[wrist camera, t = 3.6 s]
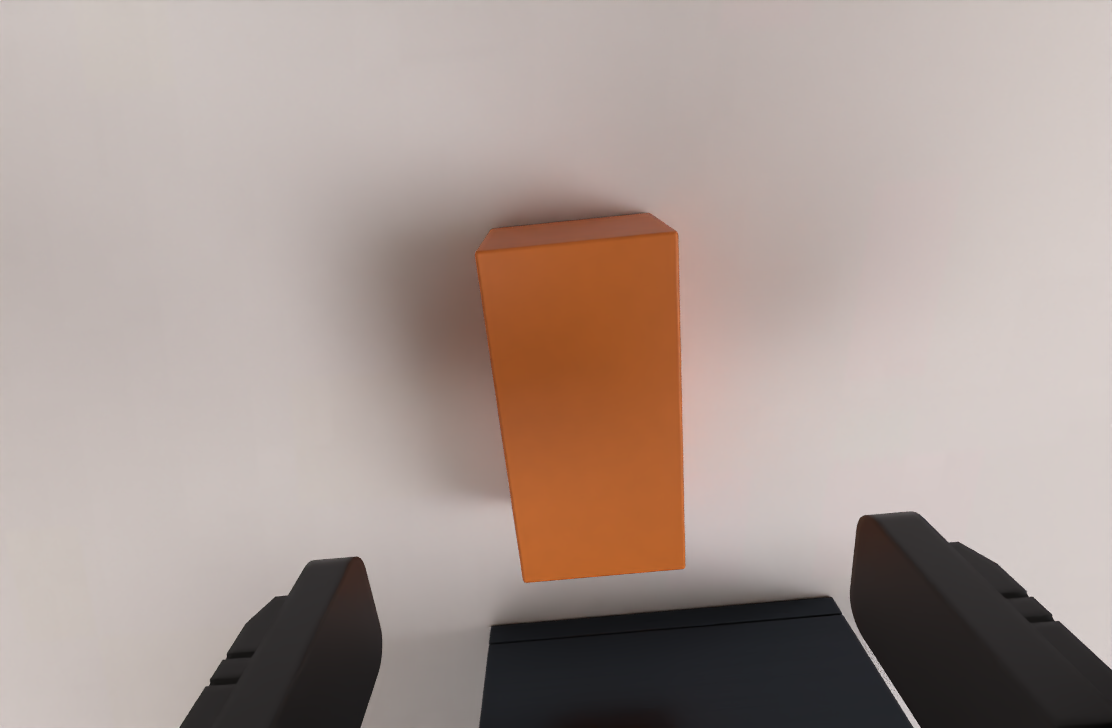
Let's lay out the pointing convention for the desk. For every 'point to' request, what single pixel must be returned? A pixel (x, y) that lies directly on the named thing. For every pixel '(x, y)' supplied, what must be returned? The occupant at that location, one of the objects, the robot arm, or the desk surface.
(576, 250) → the orange rectangular block
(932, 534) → the robot arm
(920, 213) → the desk surface
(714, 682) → the black open box
